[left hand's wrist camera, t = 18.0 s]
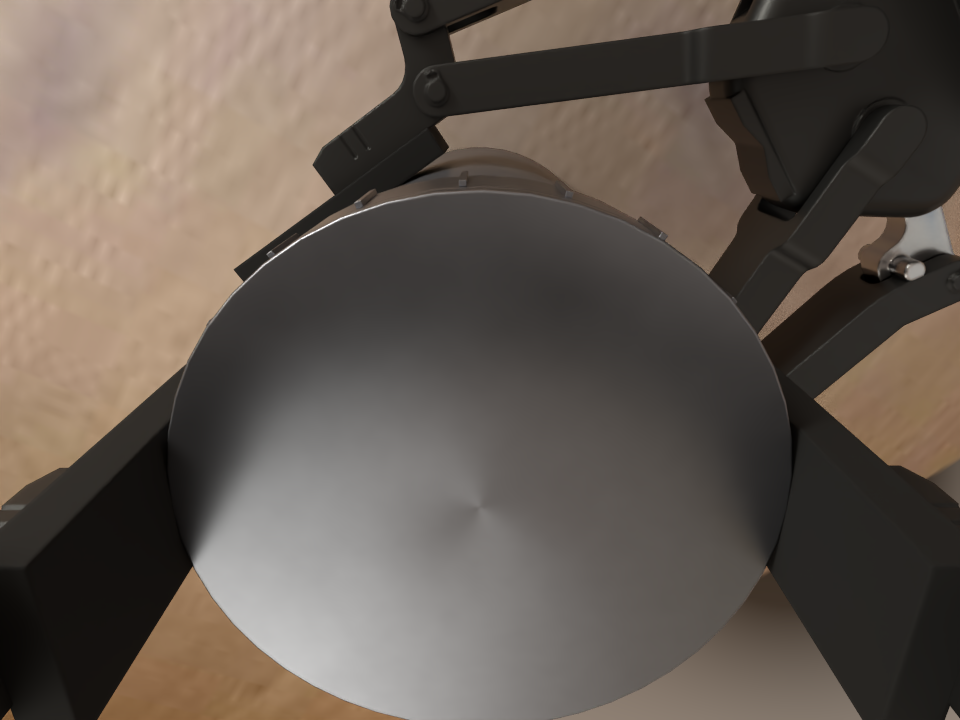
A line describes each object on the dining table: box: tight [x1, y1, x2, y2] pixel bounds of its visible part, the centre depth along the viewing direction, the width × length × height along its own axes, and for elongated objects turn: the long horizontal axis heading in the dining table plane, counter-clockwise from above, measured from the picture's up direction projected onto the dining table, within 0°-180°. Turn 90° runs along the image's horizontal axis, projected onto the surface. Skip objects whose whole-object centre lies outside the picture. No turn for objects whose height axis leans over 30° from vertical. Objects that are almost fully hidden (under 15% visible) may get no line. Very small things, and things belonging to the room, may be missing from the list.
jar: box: [398, 148, 561, 187], centre depth 18 cm, size 9×9×16 cm
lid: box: [167, 171, 792, 720], centre depth 11 cm, size 10×10×2 cm
